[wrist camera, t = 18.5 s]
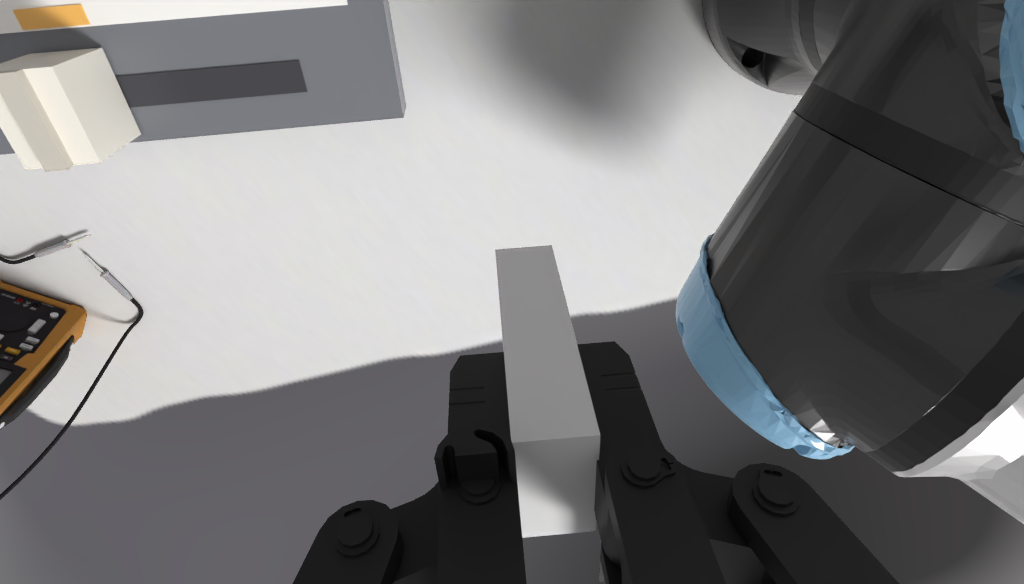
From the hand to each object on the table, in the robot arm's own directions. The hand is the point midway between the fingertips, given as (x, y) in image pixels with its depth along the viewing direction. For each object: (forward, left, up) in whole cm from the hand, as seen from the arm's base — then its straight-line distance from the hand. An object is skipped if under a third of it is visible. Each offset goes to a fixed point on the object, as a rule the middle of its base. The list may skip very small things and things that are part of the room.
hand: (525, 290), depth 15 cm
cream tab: (+23, -1, -23) cm, 33 cm away
